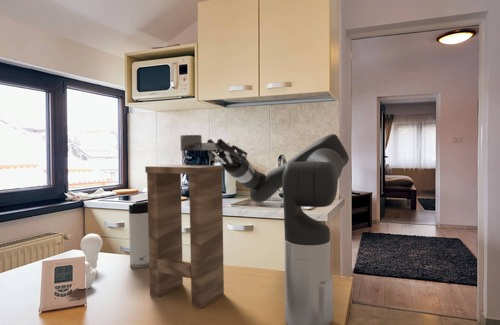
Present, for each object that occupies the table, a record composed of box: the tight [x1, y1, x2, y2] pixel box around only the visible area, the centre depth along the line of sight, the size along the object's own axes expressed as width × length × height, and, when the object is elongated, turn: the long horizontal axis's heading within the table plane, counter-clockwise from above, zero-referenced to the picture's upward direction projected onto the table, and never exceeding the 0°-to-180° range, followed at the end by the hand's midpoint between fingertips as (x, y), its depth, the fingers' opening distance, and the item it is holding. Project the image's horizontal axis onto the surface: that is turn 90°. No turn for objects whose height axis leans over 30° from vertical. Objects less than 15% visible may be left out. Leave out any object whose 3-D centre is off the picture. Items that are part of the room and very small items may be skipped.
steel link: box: [180, 134, 230, 151], centre depth 100 cm, size 6×20×4 cm, turn 151°
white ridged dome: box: [84, 261, 97, 290], centre depth 91 cm, size 6×6×7 cm
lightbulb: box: [79, 233, 104, 269], centre depth 105 cm, size 6×6×11 cm
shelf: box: [144, 164, 225, 310], centre depth 86 cm, size 16×10×32 cm, turn 61°
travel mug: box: [128, 201, 149, 269], centre depth 109 cm, size 6×7×20 cm
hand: (213, 141), depth 103 cm, fingers closed on steel link, 3 cm apart
